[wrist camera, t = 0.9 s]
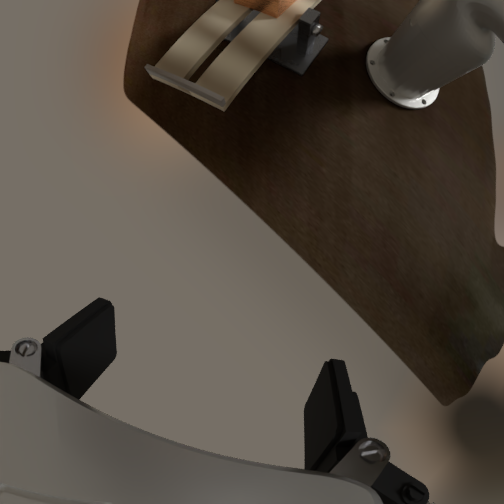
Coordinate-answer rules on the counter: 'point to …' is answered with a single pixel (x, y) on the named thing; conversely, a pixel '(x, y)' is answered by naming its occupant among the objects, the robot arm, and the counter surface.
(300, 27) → the pivot stand
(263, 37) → the beam
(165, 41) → the counter surface
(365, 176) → the counter surface
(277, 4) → the block
